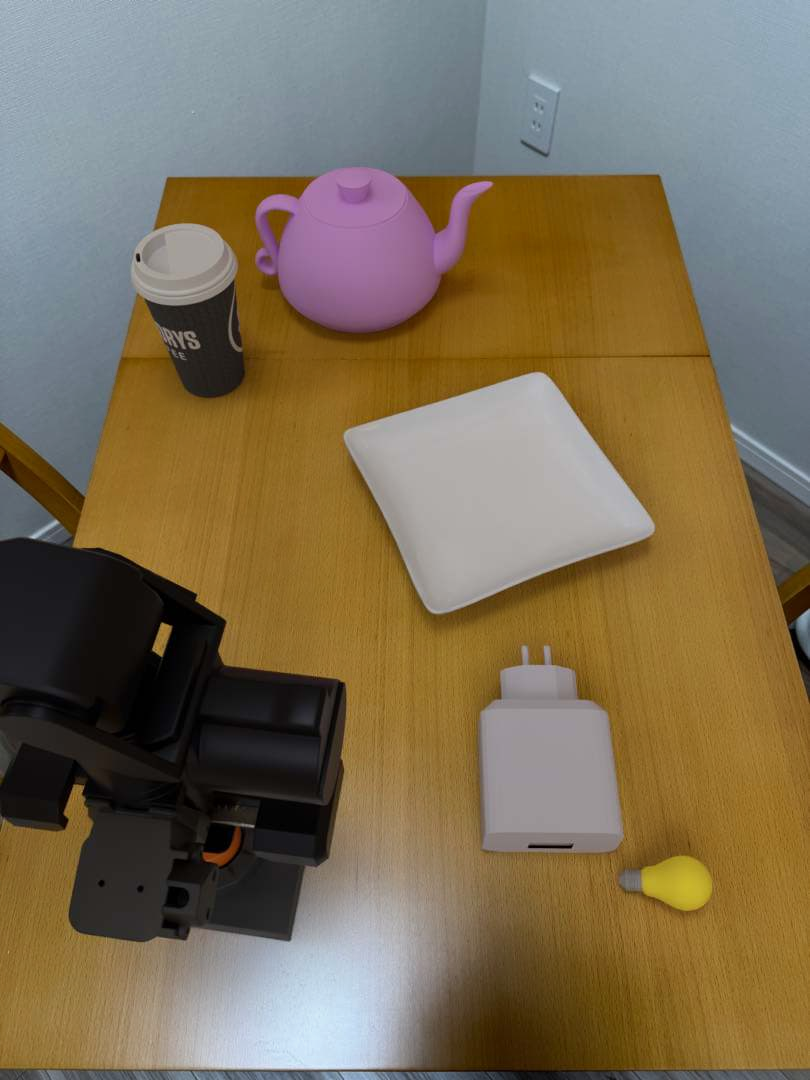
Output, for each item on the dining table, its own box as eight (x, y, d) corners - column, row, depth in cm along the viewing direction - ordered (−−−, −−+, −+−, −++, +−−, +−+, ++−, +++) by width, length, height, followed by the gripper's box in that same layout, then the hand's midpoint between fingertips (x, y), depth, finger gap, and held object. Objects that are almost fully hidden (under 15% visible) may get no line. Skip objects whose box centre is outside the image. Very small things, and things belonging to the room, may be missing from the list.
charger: (590, 660, 68) (613, 854, 60) (474, 660, 69) (481, 852, 60) (600, 632, 65) (626, 834, 56) (477, 631, 65) (485, 832, 56)
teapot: (246, 340, 90) (222, 227, 79) (271, 237, 100) (252, 124, 89) (484, 347, 89) (493, 234, 78) (485, 242, 99) (493, 128, 88)
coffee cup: (181, 339, 91) (143, 214, 78) (269, 346, 90) (245, 221, 77) (154, 404, 85) (108, 281, 73) (247, 413, 84) (217, 290, 72)
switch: (174, 865, 56) (166, 857, 55) (191, 805, 59) (184, 795, 57) (233, 873, 56) (227, 865, 54) (248, 813, 58) (242, 803, 57)
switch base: (117, 916, 58) (98, 903, 55) (160, 773, 64) (146, 753, 60) (290, 941, 57) (282, 929, 54) (319, 794, 63) (313, 775, 59)
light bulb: (714, 908, 58) (715, 914, 54) (623, 904, 59) (618, 909, 56) (710, 855, 59) (710, 857, 55) (620, 852, 60) (615, 854, 57)
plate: (655, 551, 74) (664, 528, 71) (430, 636, 70) (431, 615, 67) (540, 390, 86) (544, 365, 83) (340, 455, 81) (338, 430, 78)
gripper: (-111, 880, 39) (20, 943, 52) (289, 937, 37) (322, 988, 50) (-12, 662, 45) (83, 766, 58) (334, 703, 44) (354, 801, 57)
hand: (204, 829), depth 56 cm, fingers closed, pressing on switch
